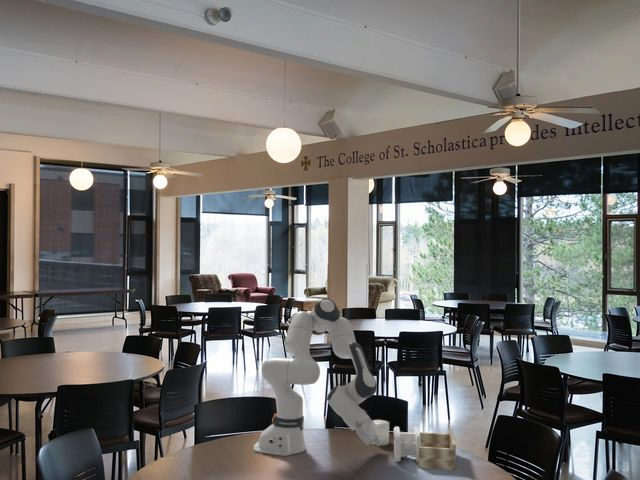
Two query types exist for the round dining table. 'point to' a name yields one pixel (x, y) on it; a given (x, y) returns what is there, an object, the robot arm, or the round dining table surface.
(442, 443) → the bracket
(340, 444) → the round dining table surface
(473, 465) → the round dining table surface
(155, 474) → the round dining table surface
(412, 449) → the cable organizer
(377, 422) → the mug
